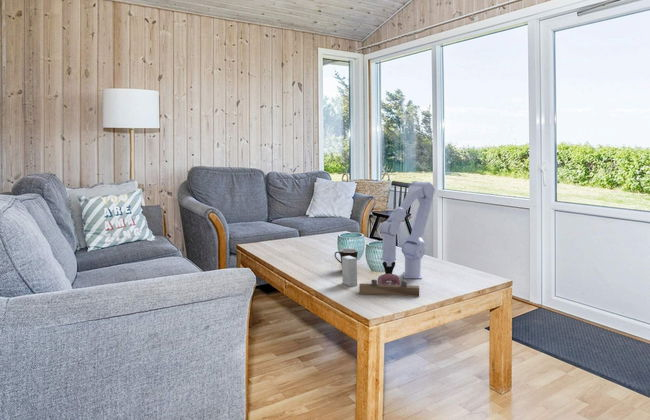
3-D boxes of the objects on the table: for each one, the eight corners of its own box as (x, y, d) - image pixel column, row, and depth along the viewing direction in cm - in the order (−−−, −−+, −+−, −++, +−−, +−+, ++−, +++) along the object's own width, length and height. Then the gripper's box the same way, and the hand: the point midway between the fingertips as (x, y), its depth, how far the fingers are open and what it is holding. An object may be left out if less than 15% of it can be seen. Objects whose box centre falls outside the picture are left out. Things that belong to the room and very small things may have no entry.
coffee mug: (361, 271, 219) (361, 251, 217) (346, 274, 214) (346, 253, 213) (347, 266, 228) (347, 246, 227) (333, 268, 224) (333, 248, 223)
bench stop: (359, 291, 188) (359, 278, 187) (418, 294, 185) (418, 280, 184) (359, 293, 185) (359, 280, 184) (419, 296, 182) (419, 283, 181)
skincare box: (357, 285, 197) (357, 257, 195) (348, 286, 195) (349, 259, 193) (350, 281, 202) (350, 255, 200) (341, 283, 200) (341, 256, 198)
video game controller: (400, 290, 194) (399, 274, 197) (402, 288, 190) (401, 272, 192) (377, 290, 194) (376, 274, 196) (378, 289, 190) (377, 272, 192)
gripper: (380, 244, 208) (379, 273, 210) (379, 251, 194) (379, 282, 196) (395, 245, 207) (395, 274, 209) (396, 252, 193) (395, 283, 195)
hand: (388, 278), depth 202 cm, fingers closed
